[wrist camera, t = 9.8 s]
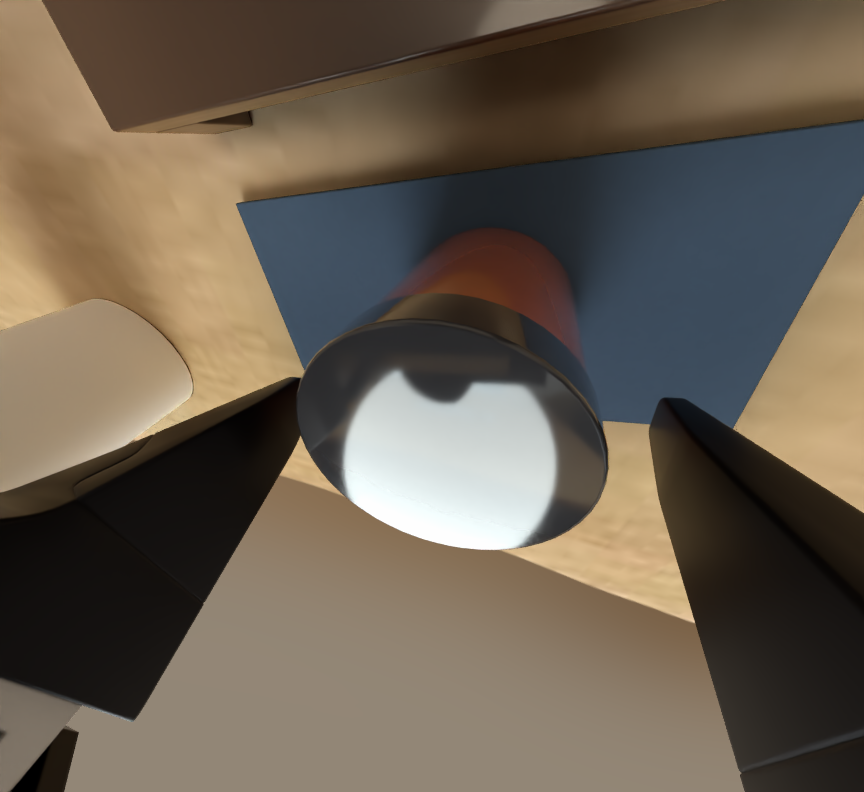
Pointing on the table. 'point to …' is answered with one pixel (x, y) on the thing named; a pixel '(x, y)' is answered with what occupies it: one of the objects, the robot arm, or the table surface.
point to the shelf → (294, 48)
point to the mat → (601, 252)
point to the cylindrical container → (81, 387)
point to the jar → (463, 400)
